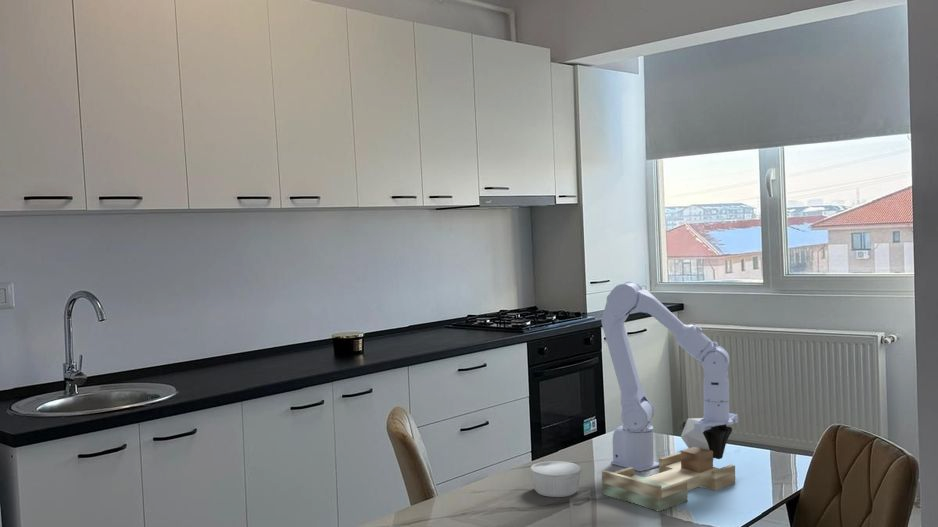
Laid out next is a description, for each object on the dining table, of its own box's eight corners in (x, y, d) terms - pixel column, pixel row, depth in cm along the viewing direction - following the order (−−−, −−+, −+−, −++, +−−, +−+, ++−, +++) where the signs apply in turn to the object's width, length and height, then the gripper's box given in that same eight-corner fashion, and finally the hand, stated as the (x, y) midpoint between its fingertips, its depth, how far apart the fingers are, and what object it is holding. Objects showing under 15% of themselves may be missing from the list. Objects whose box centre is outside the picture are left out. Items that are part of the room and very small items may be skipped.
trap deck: (602, 494, 177) (602, 471, 177) (679, 469, 194) (678, 448, 194) (658, 511, 165) (658, 487, 165) (735, 483, 182) (735, 461, 182)
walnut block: (681, 468, 186) (680, 450, 186) (694, 463, 189) (694, 446, 189) (699, 472, 182) (699, 455, 182) (713, 468, 185) (712, 450, 185)
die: (712, 459, 204) (729, 424, 206) (679, 441, 205) (696, 406, 208) (702, 462, 212) (719, 428, 214) (671, 445, 213) (688, 411, 216)
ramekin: (552, 480, 188) (552, 457, 188) (592, 490, 180) (591, 466, 180) (520, 491, 180) (519, 468, 180) (559, 503, 172) (559, 478, 172)
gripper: (712, 407, 182) (713, 467, 183) (749, 397, 192) (749, 455, 192) (686, 402, 188) (686, 461, 188) (722, 393, 197) (723, 449, 197)
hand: (716, 457), depth 191 cm, fingers closed
